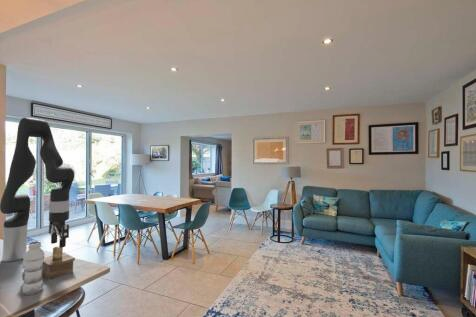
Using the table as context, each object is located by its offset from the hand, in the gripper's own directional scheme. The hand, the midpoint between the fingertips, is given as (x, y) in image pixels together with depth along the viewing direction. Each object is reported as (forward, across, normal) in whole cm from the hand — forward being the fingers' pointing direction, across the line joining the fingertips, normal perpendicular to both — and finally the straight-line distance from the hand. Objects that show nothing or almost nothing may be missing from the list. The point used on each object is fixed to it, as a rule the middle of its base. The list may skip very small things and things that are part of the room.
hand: (58, 245), depth 110 cm
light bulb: (+14, +1, -10) cm, 17 cm away
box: (+13, 0, 0) cm, 13 cm away
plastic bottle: (+14, +10, -12) cm, 21 cm away
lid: (+7, 0, 0) cm, 7 cm away
